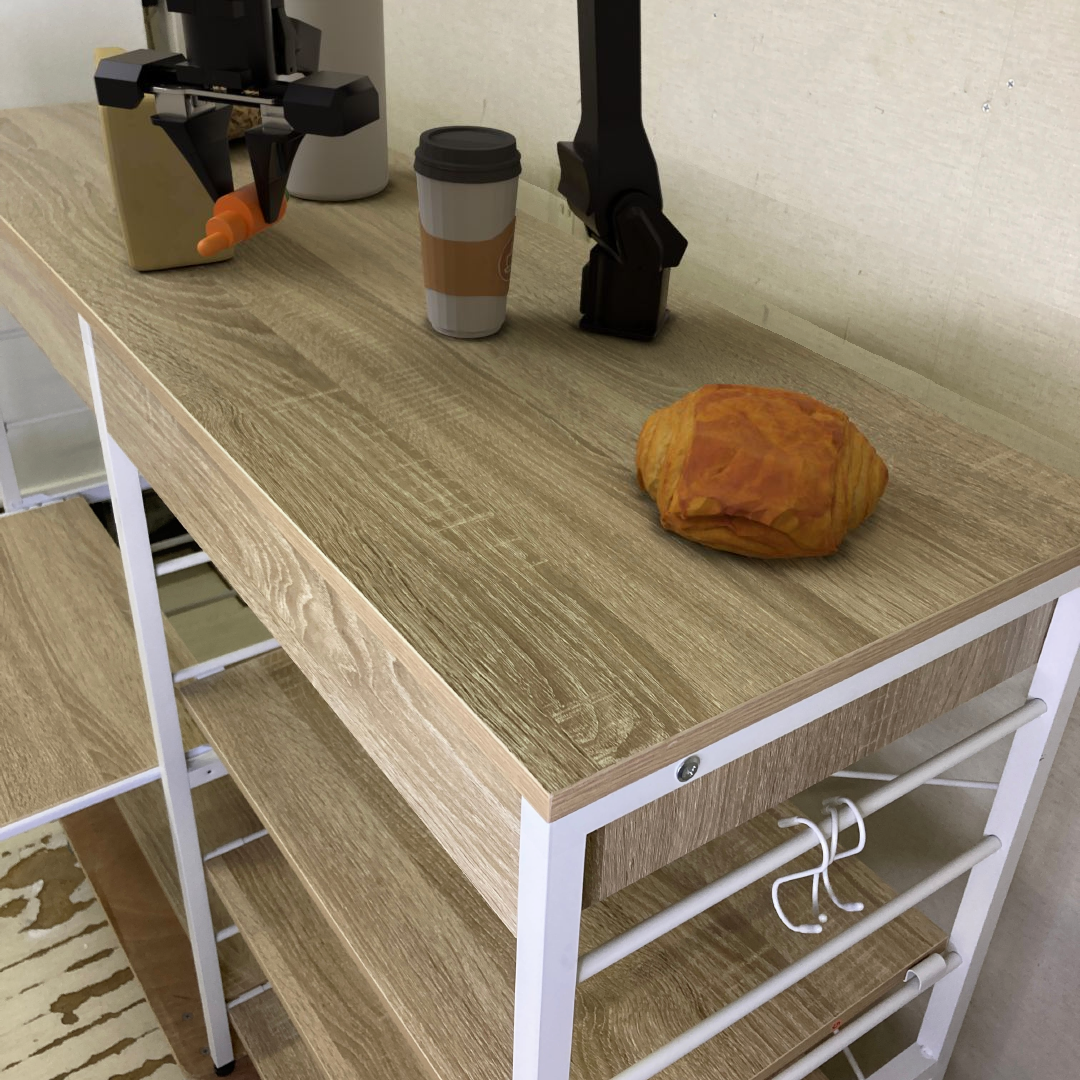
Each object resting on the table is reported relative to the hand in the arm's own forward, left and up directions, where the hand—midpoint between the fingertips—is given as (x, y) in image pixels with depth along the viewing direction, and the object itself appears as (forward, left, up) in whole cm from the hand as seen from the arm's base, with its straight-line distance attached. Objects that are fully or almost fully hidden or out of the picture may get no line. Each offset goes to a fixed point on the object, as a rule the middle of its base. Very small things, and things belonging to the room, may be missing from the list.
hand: (250, 218), depth 78 cm
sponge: (+36, -51, -11) cm, 63 cm away
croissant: (-39, +6, -11) cm, 41 cm away
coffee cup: (-12, -13, -11) cm, 20 cm away
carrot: (0, +1, -1) cm, 1 cm away
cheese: (+24, -21, -11) cm, 34 cm away
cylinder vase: (+16, -42, -11) cm, 46 cm away
